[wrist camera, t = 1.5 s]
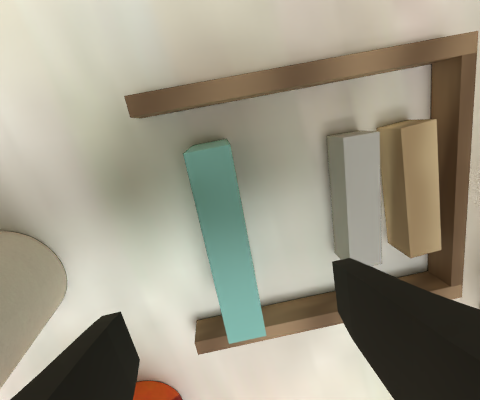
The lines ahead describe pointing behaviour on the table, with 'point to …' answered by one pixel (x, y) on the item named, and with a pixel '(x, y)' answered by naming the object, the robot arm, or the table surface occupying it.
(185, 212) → the table surface
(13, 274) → the coffee cup
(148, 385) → the paper cup
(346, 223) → the grey board offcut
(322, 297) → the frame
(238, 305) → the long teal post
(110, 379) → the robot arm
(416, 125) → the plywood offcut
